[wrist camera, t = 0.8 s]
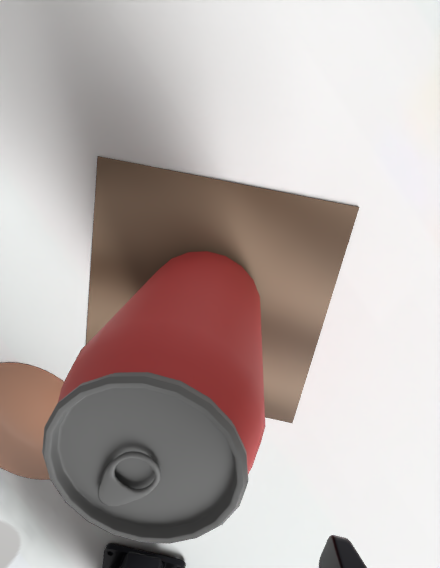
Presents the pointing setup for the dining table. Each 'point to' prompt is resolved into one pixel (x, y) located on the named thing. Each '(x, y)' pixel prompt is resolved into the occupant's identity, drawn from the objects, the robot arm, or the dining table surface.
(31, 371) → the coaster
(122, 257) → the board
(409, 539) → the dining table surface
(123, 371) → the beer can
